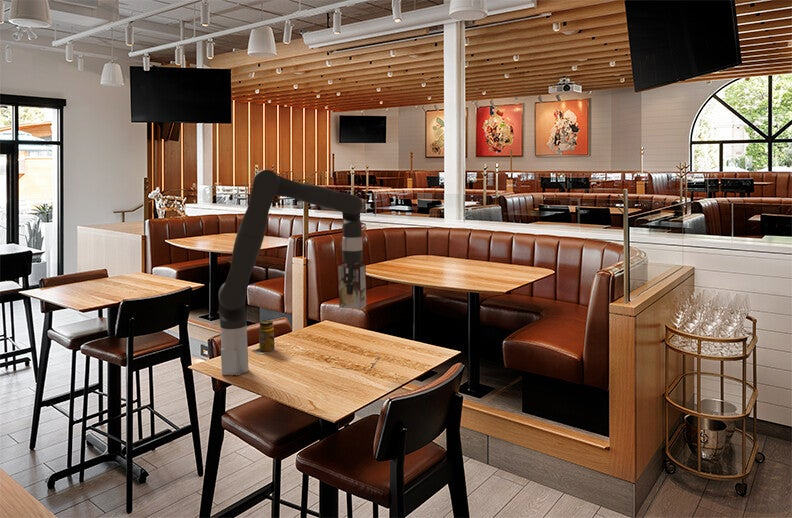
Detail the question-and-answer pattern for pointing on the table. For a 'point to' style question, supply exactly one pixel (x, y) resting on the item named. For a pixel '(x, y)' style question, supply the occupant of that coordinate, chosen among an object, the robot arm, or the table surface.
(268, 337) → the condiment
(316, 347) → the table surface
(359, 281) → the coffee box
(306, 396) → the table surface
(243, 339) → the robot arm
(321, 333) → the table surface
